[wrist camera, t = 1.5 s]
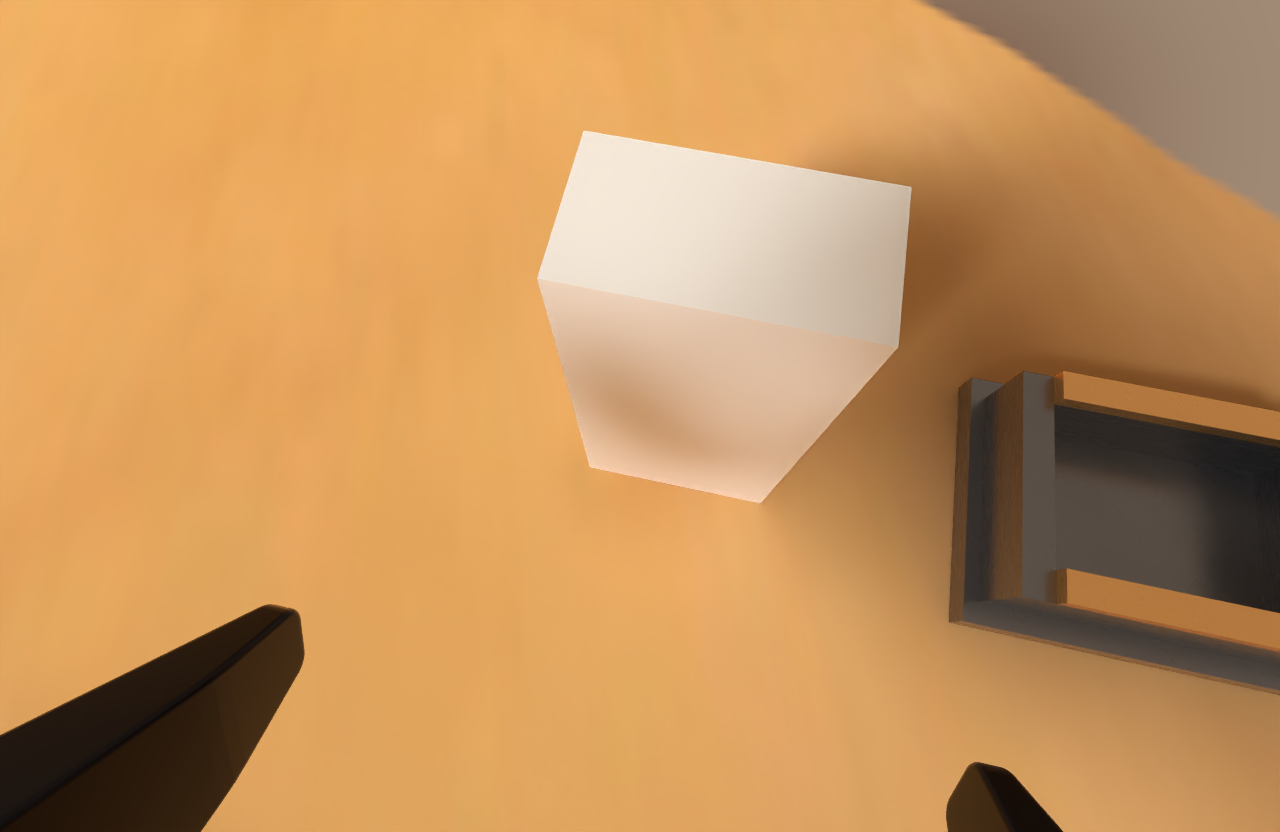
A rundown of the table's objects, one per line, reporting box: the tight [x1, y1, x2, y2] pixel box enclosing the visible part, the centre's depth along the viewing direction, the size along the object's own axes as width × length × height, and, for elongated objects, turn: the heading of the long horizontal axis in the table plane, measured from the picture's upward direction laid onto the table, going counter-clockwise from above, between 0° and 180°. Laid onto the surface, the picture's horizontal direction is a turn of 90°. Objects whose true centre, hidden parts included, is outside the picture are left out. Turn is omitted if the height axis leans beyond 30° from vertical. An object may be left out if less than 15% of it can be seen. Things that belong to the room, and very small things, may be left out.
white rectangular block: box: [537, 131, 912, 503], centre depth 18 cm, size 4×6×13 cm, turn 78°
